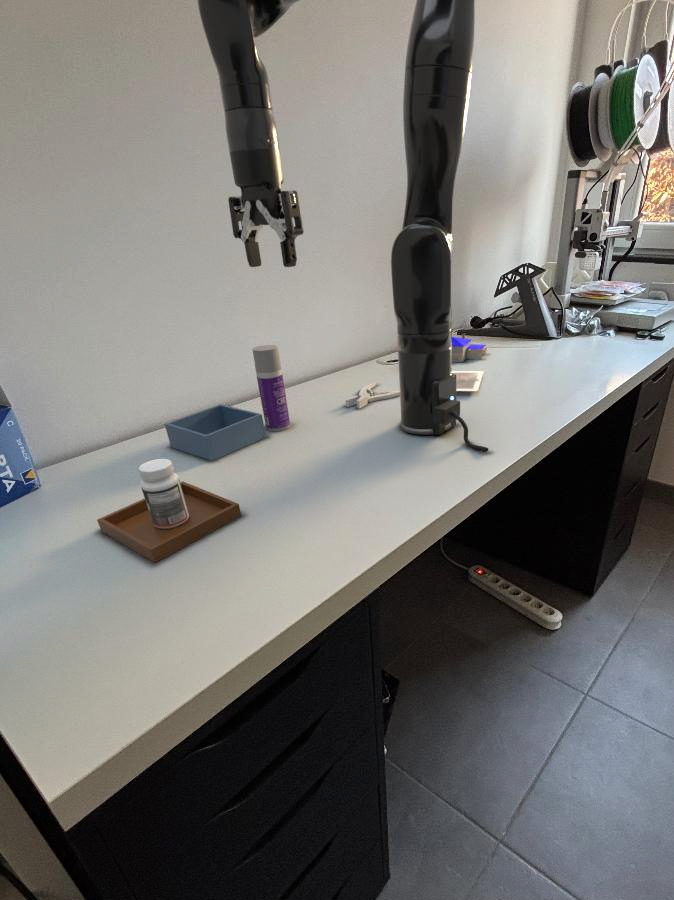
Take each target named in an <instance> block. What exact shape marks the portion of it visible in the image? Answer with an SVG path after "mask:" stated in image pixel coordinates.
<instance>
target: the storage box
mask: <svg viewBox="0 0 674 900" xmlns="http://www.w3.org/2000/svg"><path fill="white" fill-rule="evenodd" d="M164 427H165V431H166V435H167V438H168V441H169V445H170V447H171V448H173V449H175V450H178V451H181V452H184V453H187V454H188V455H189V454H190V455H193V456H195V457H198V458H201V459H204V460H207V461H210V462H213V461H215V460H218V459H220V458H222V457H225V456H227V455H229V454H232V453H233V452H236V451H238V450H241V449H243V448H245V447H247V446H250V445H252V444H254V443H257V442H259V441H261V440H263V439H266V438H267V434H266V428H265V422H264V417H263V413H259V412H256V411H255V412H254V411H250V410H246V409H241V408H238V407H234V406H230V405H226V404H222V403H219V404H217V405H214V406H212V407H208V408H205V409H203V410H200V411H197V412H194V413H191V414H188V415H186V416H183V417H180V418H176V419H175V420H172V421H169V422H165V423H164Z"/></svg>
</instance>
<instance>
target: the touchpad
mask: <svg viewBox="0 0 674 900" xmlns="http://www.w3.org/2000/svg"><path fill="white" fill-rule="evenodd" d="M452 373H455V374H456V376H457V379H456V392H479V387H480V386H481V385H480V384H481V381H482V379H483V375H484V371H481V370H478V371H477V370H476V371H474V370H452Z"/></svg>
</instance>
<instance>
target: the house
mask: <svg viewBox="0 0 674 900" xmlns="http://www.w3.org/2000/svg"><path fill="white" fill-rule="evenodd" d="M472 341H473V339H471V338H466V333H462V334H461V337H456V336H452V363H463V362H465V360H466V359H468V360H483V355H487V350H488V344H476V343H475V344H474V343H473V344H470V343H471V342H472Z"/></svg>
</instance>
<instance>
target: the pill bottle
mask: <svg viewBox="0 0 674 900" xmlns="http://www.w3.org/2000/svg"><path fill="white" fill-rule="evenodd" d="M138 472H139V475H140V478H141V479H142V480H141V481H140V489H141V491H142V494H143V497H144V498H145V501H146V504H147V507H148V510H149V513H150V516H151V519H152V522H153V524H154V526H155V527H157V528H160V529H170V528H175V527H178V526H180V525H182V524H183V523H185V522H186V521H187V520H188V518H189V512H188V508H187V505H186V501H185V498H184V494H183V491H182V487H181V484H180V482H181V480H180V478H179V475H178V474H177V473H176V472H175V468H174V466H173V463H172V461H171V460H170V459H168V458H157V459H152V460H149V461H146V462H144V463H142V464H140V465H139V467H138ZM144 498H143V499H144Z"/></svg>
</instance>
